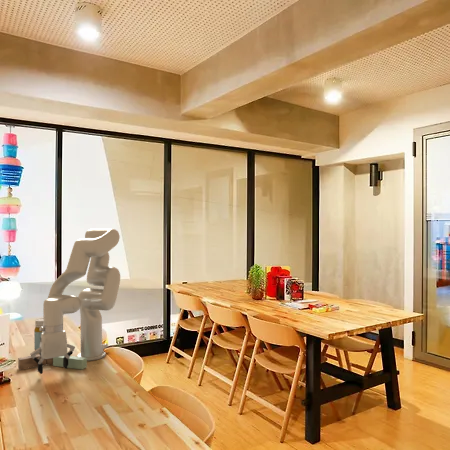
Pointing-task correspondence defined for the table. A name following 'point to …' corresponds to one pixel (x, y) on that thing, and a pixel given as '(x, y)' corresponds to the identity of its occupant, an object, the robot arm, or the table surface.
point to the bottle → (37, 333)
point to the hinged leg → (71, 362)
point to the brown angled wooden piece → (32, 362)
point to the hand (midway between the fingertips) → (53, 370)
